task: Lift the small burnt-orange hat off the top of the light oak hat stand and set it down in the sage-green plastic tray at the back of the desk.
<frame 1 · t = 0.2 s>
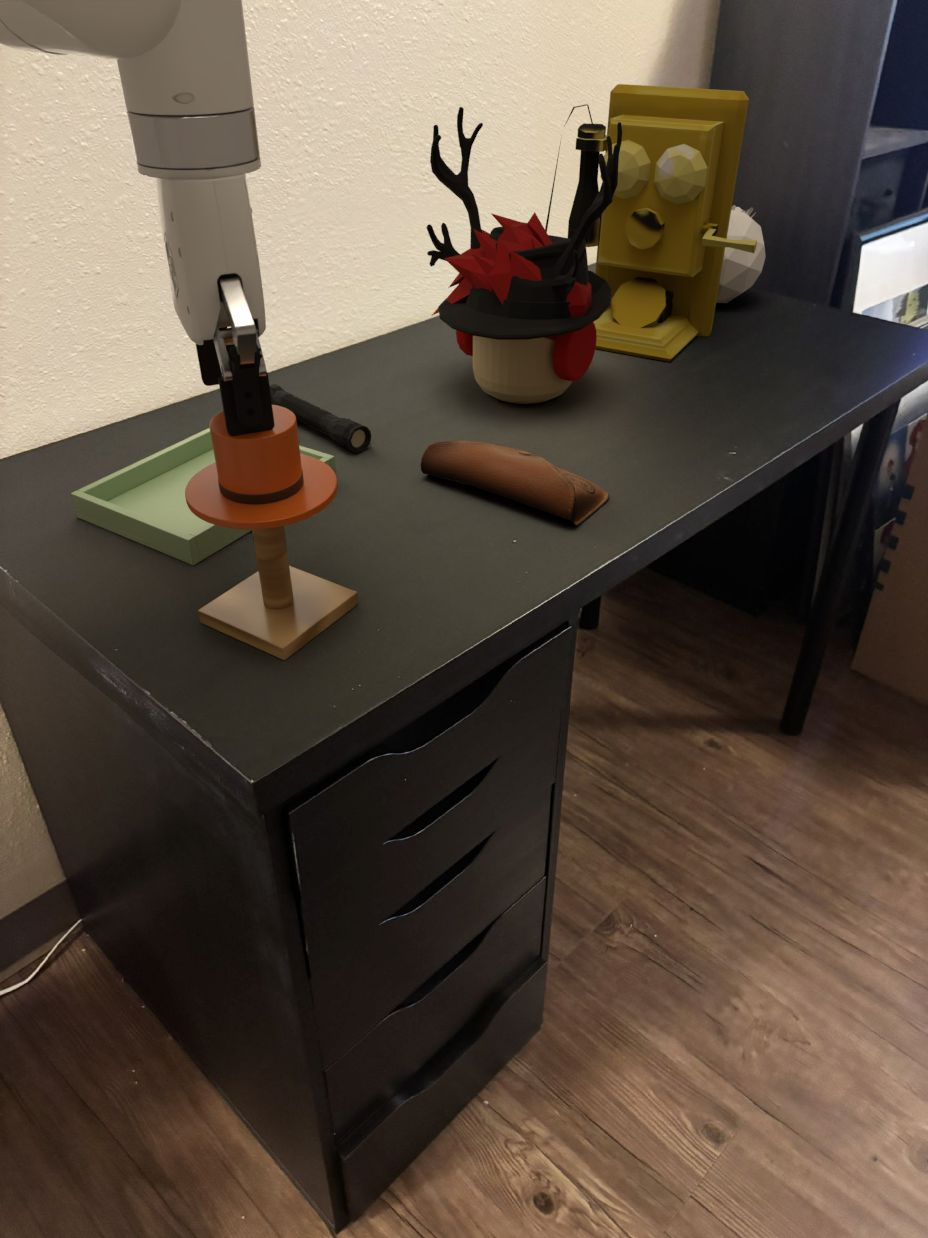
hand: (237, 405, 66), 17 cm above the table, tool pointing down, fingers open, 9 cm apart
geodesic sphere: (710, 301, 142), on the table
sunglasses case: (514, 490, 91), on the table
flashlight: (315, 430, 103), on the table
hat stand: (280, 613, 74), on the table
vintage telephone: (625, 338, 128), on the table
tray: (211, 497, 89), on the table
decorative hat: (520, 394, 112), on the table
small hat: (262, 491, 67), point 11 cm above the table, touching gripper, hat stand
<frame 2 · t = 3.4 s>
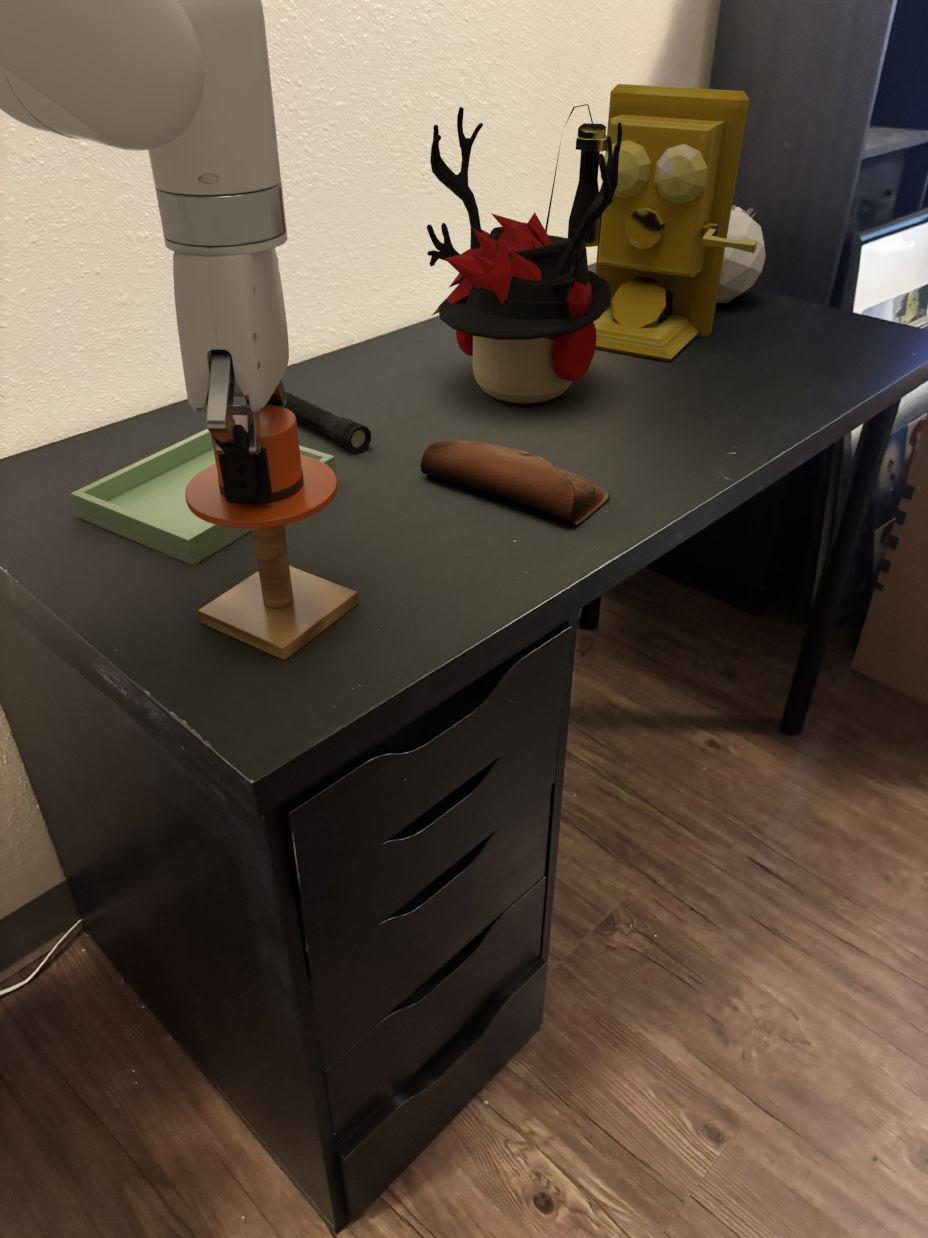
hand: (260, 477, 66), 12 cm above the table, tool pointing down, fingers closed on small hat, 6 cm apart
small hat: (263, 491, 67), point 11 cm above the table, touching gripper, hat stand
everything else where it was.
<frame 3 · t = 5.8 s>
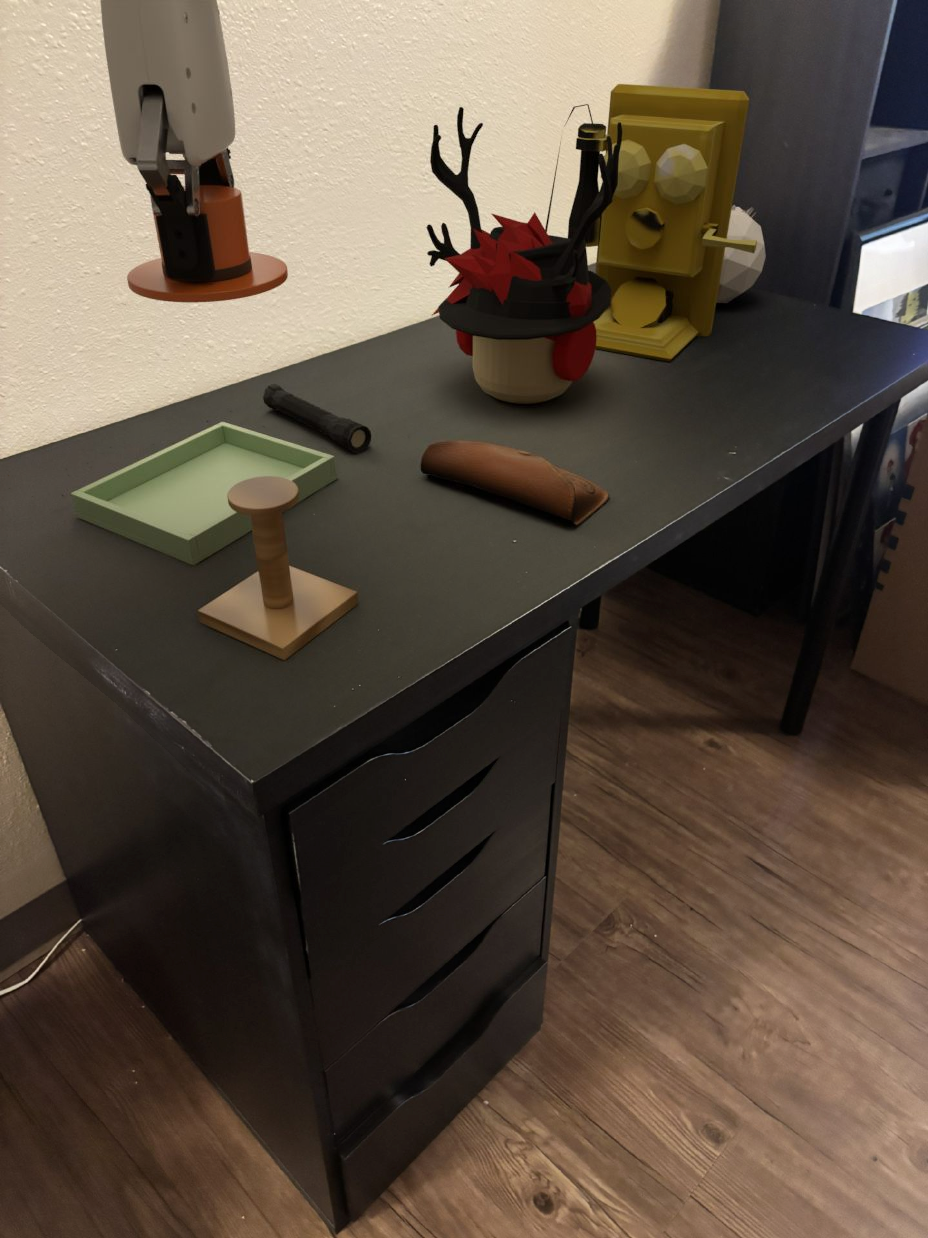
hand: (206, 261, 64), 26 cm above the table, tool pointing down, fingers closed on small hat, 6 cm apart
small hat: (209, 279, 64), point 25 cm above the table, touching gripper
everything else where it was.
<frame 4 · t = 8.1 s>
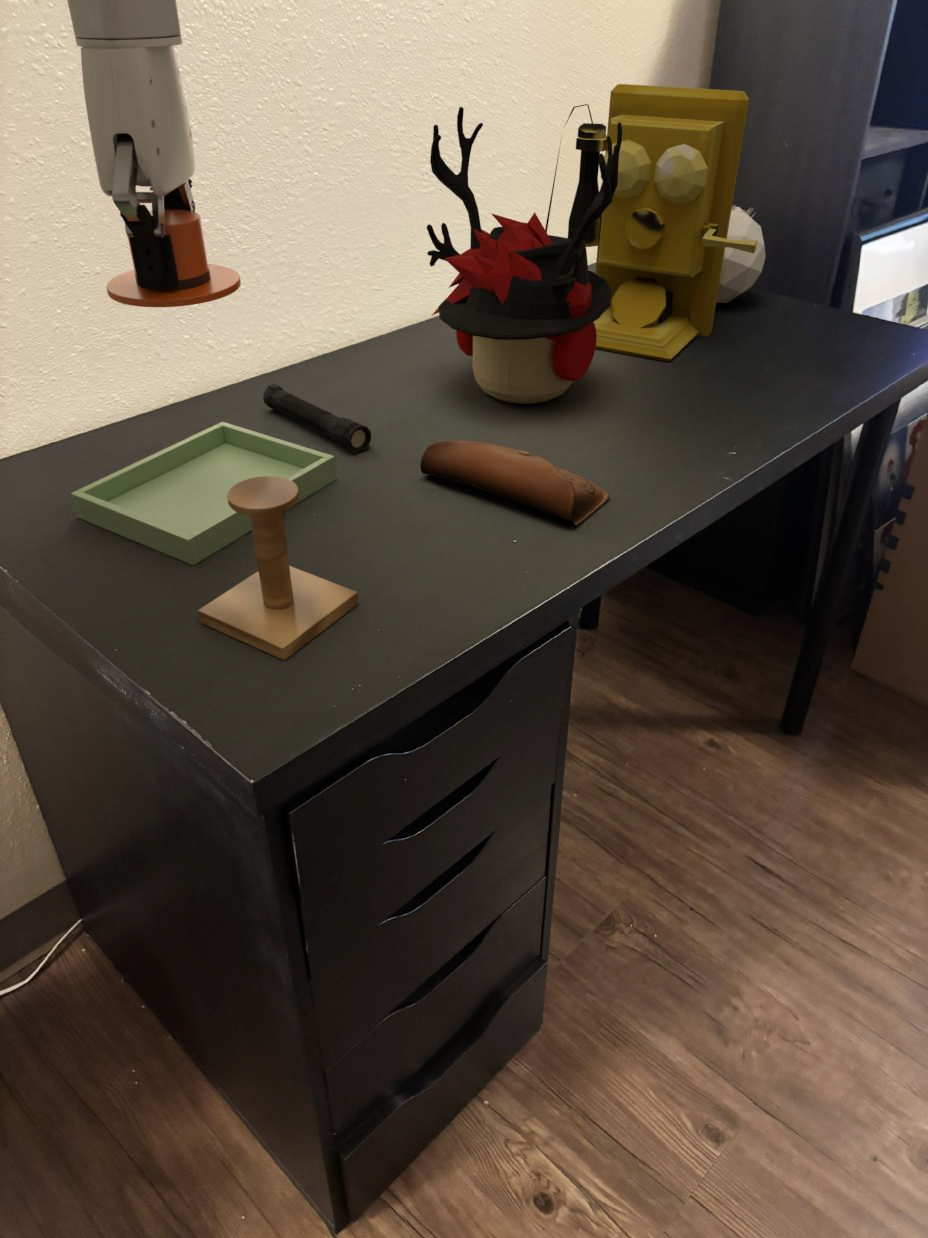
hand: (172, 273, 77), 21 cm above the table, tool pointing down, fingers closed on small hat, 6 cm apart
small hat: (175, 287, 78), point 20 cm above the table, touching gripper
everything else where it was.
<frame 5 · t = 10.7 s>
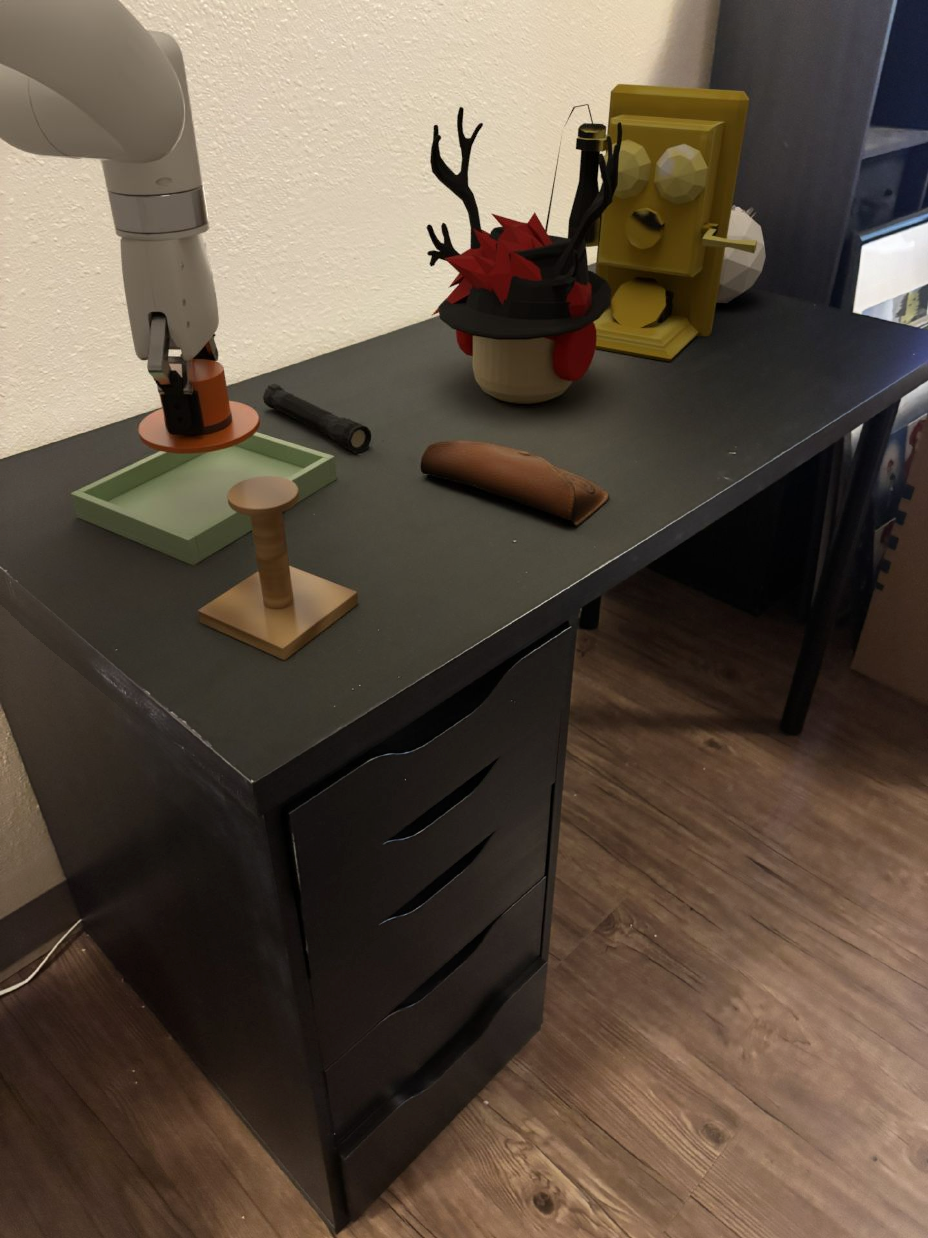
hand: (197, 416, 85), 8 cm above the table, tool pointing down, fingers closed on small hat, 6 cm apart
small hat: (200, 428, 85), point 7 cm above the table, touching gripper
everything else where it was.
when the fingers open (2 cm above the table, at t = 12.8 s): small hat stays where it is, resting on tray.
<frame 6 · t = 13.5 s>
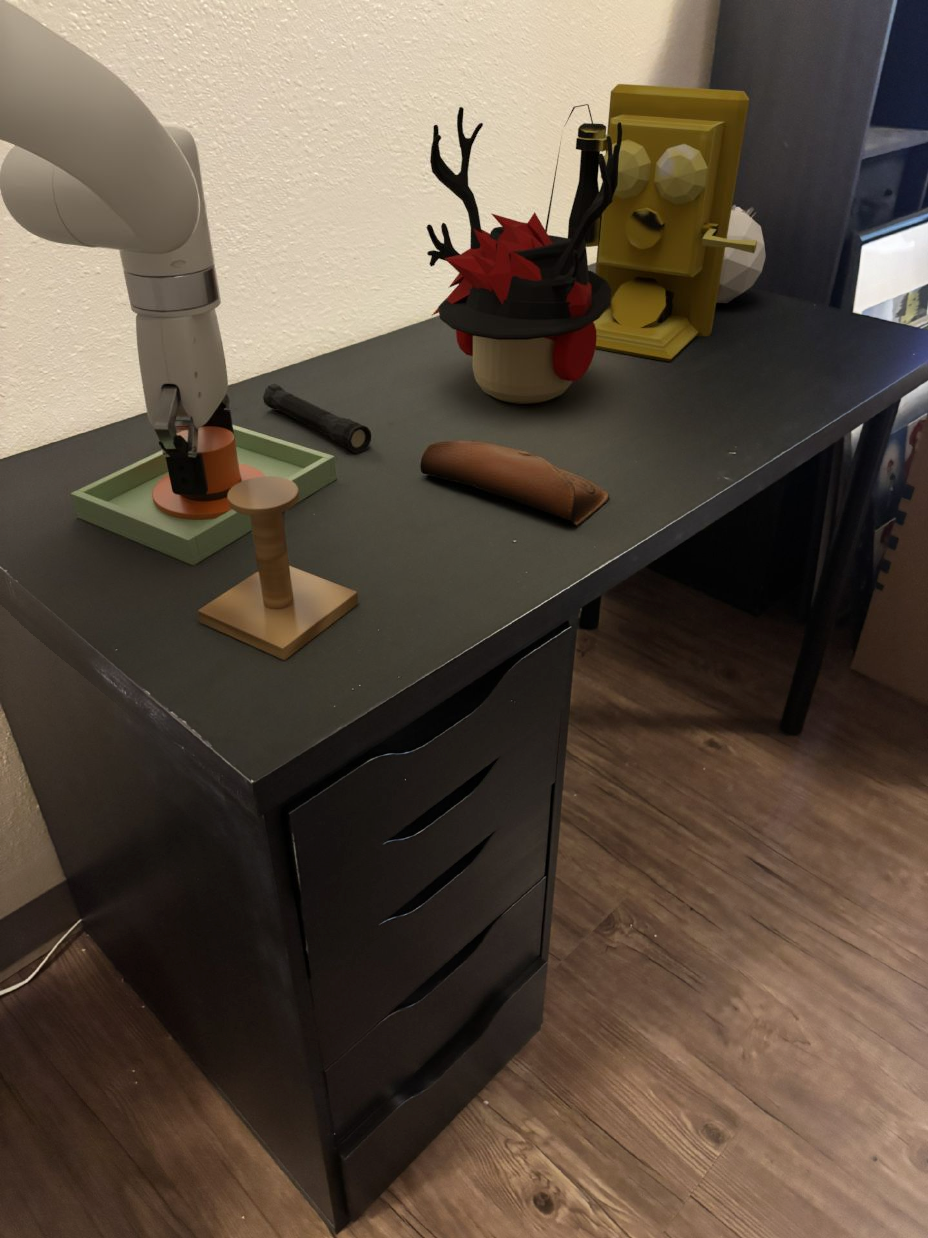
hand: (205, 469, 88), 3 cm above the table, tool pointing down, fingers open, 9 cm apart
small hat: (211, 491, 89), point 1 cm above the table, touching tray
everything else where it was.
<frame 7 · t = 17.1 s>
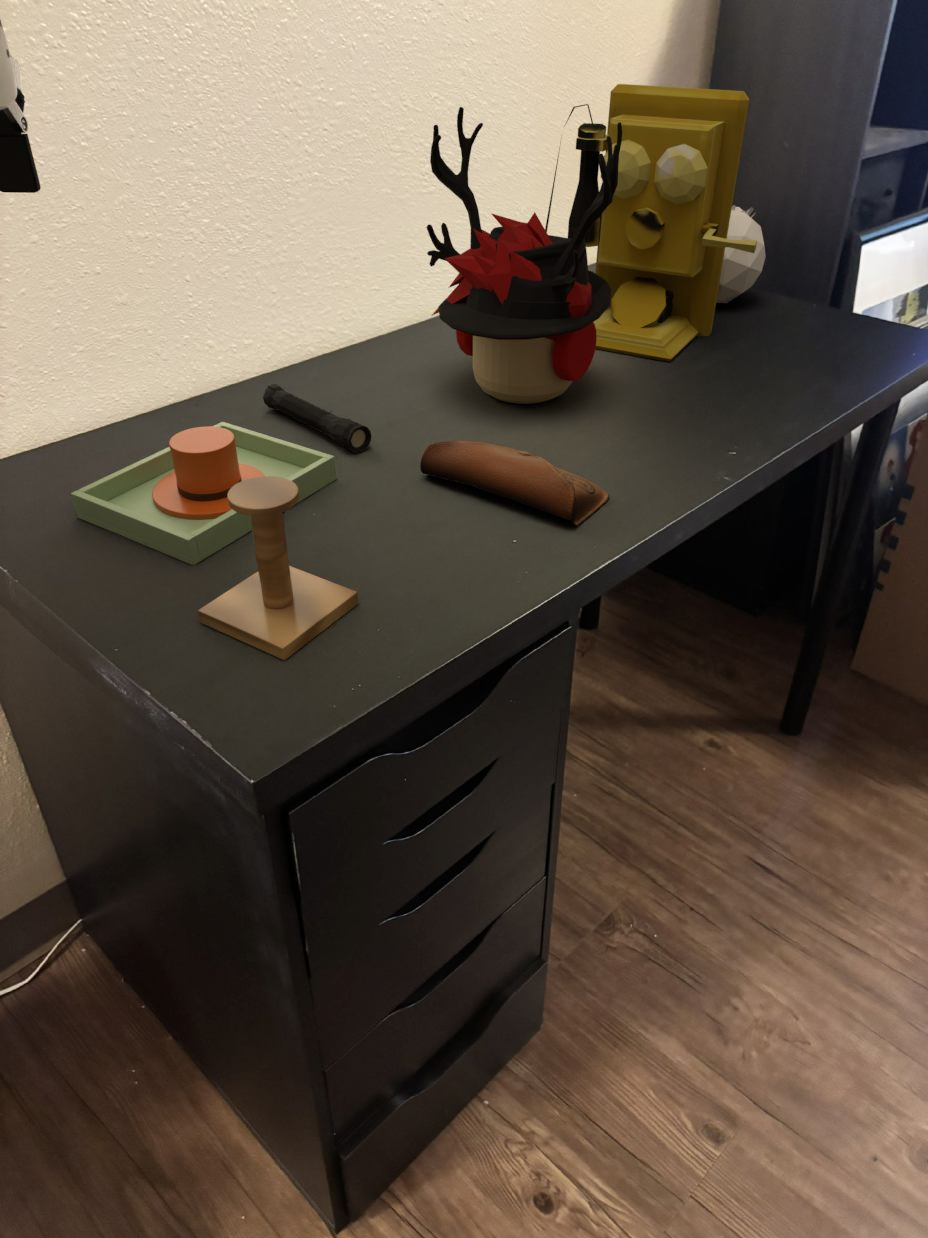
nothing on the table moved.
at the end: small hat inside the target area in the tray (0.1 cm from its centre), point 0.6 cm above the tray's base; small hat tilted 0°; small hat touching tray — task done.
